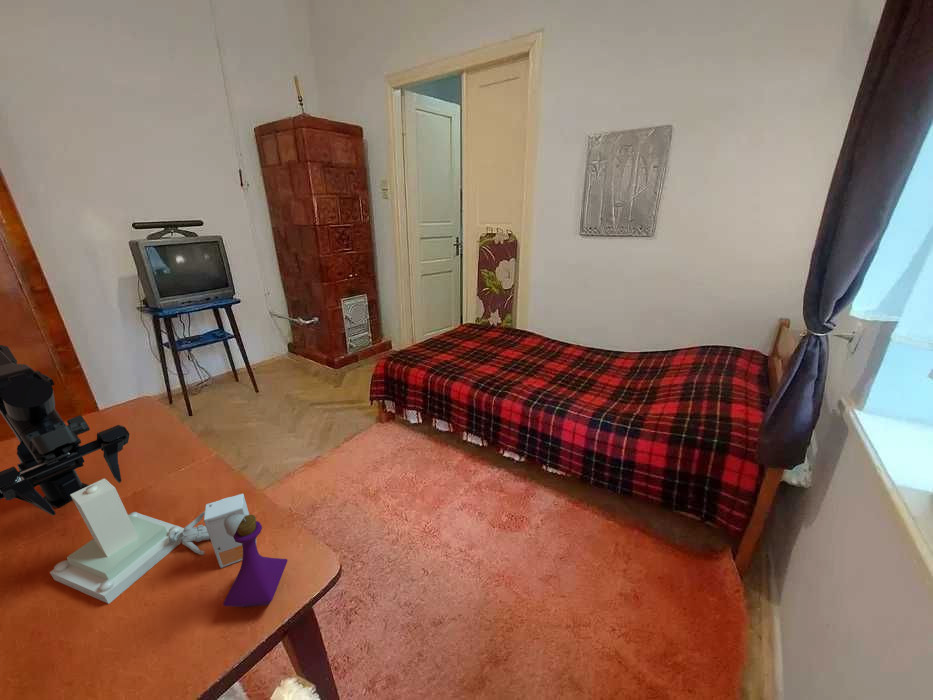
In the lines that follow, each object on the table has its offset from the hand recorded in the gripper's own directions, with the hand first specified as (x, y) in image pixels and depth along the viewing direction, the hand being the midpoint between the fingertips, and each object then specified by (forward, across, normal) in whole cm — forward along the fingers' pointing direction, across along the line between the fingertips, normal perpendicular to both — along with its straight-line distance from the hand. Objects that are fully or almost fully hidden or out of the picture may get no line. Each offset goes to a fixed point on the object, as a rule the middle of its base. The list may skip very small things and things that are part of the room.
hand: (88, 497), depth 69 cm
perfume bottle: (+33, +9, -16) cm, 37 cm away
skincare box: (+25, +11, -8) cm, 29 cm away
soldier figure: (+19, +10, -3) cm, 22 cm away
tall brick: (+10, 0, +2) cm, 10 cm away
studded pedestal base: (+12, 0, +4) cm, 13 cm away
